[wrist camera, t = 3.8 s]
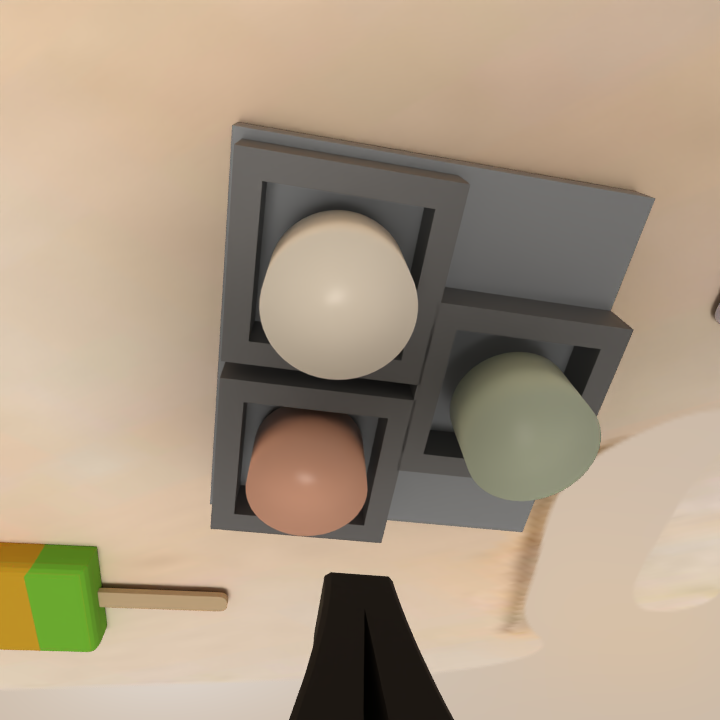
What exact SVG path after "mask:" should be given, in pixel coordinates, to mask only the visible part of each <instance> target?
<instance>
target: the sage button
mask: <svg viewBox="0 0 720 720" xmlns="http://www.w3.org/2000/svg"><path fill="white" fill-rule="evenodd" d="M450 419H451V423H452V426H453V429H454V432H455V435H456V437H457V440H458V443H459V446H460V448H461V451H462V454H463V457H464V460H465V462H466V465H467V468H468V471H469V473H470V475H471V477H472V478H473V480H474V481H475V482H476V484H477V485H478V486H479V487H480V488H482V489H483V490H484V491H486V492H487V493H489V494H491V495H493V496H496V497H498V498H502V499H505V500H511V501H531V500H537V499H542V498H545V497H549V496H551V495H554V494H556V493H558V492H560V491H563V490H564V489H566V488H568V487H569V486H571V485H572V484H573V483H574V482H576V481H577V480H578V479H579V478H581V476H583V475H584V473H585V472H586V471H587V470H588V469H589V467H590V466H591V465H592V463H593V461H594V460H595V458H596V456H597V453H598V450H599V447H600V442H601V430H600V425H599V421H598V419H597V417H596V415H595V413H594V412H593V410H592V409H591V408H590V407H589V405H588V404H587V403H586V401H585V400H584V399H583V398H582V396H581V395H580V394H579V393H578V391H577V390H576V389H575V388H574V386H573V385H572V384H571V383H570V381H569V380H568V379H567V378H566V376H565V375H564V374H563V373H562V371H561V370H560V369H559V368H558V367H557V366H556V365H555V364H554V363H553V362H551V361H550V360H549V359H547V358H545V357H543V356H540V355H537V354H533V353H528V352H509V353H503V354H500V355H496V356H493V357H491V358H488V359H486V360H484V361H483V362H481V363H479V364H478V365H476V366H475V367H473V368H472V369H471V370H470V371H469V372H468V373H467V374H466V375H465V376H464V377H463V378H462V379H461V381H460V382H459V384H458V385H457V387H456V389H455V391H454V393H453V396H452V398H451V403H450Z"/></svg>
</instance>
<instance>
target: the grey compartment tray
mask: <svg viewBox="0 0 720 720" xmlns="http://www.w3.org/2000/svg"><path fill="white" fill-rule="evenodd" d="M654 200H655V198H653V197H650V196H647V195H645V194H642V193H639V192H636V191H631V190H626V189H620V188H614V187H608V186H603V185H597V184H591V183H585V182H580V181H574V180H568V179H562V178H557V177H551V176H545V175H539V174H534V173H528V172H522V171H516V170H511V169H505V168H499V167H493V166H488V165H482V164H476V163H470V162H465V161H459V160H453V159H447V158H442V157H436V156H430V155H425V154H419V153H413V152H407V151H402V150H396V149H390V148H384V147H379V146H373V145H367V144H361V143H356V142H350V141H344V140H338V139H333V138H327V137H321V136H315V135H310V134H304V133H298V132H292V131H287V130H281V129H275V128H269V127H264V126H258V125H252V124H247V123H241V122H238V123H236V124H234V125H232V140H231V157H230V174H229V191H228V208H227V225H226V242H225V259H224V276H223V293H222V310H221V327H220V345H219V362H218V379H217V396H216V413H215V430H214V447H213V464H212V481H211V498H210V504H212V514H211V529H221V530H233V531H245V532H256V533H268V534H280V535H291V534H287V533H284V532H281V531H278V530H276V529H274V528H272V527H270V526H268V525H267V524H265V523H264V522H263V521H261V520H260V519H259V518H258V517H257V516H256V515H255V513H254V512H253V510H252V509H251V507H250V505H249V503H248V500H247V497H246V481H247V476H248V471H249V466H250V461H251V456H252V451H253V446H254V441H255V436H256V433H257V430H258V428H259V426H260V425H261V423H262V422H263V421H264V419H265V418H266V417H267V416H268V415H270V414H271V413H272V412H274V411H275V410H277V409H279V408H280V407H291V408H300V409H309V410H318V411H326V412H335V413H344V414H348V415H349V416H350V417H351V418H352V419H353V420H354V422H355V423H356V424H357V426H358V428H359V430H360V432H361V435H362V439H363V446H364V457H365V467H366V477H367V497H366V500H365V503H364V505H363V507H362V509H361V510H360V512H359V513H358V514H357V516H356V517H355V518H354V519H353V520H351V521H350V522H349V523H348V524H346V525H345V526H343V527H341V528H339V529H337V530H335V531H332V532H330V533H326V534H322V535H316V536H304V537H316V538H328V539H339V540H351V541H363V542H375V543H381V542H382V538H383V534H384V530H385V526H386V522H387V520H393V521H404V522H415V523H426V524H437V525H448V526H459V527H471V528H482V529H493V530H504V531H515V532H522V531H523V529H524V526H525V524H526V521H527V519H528V516H529V514H530V511H531V509H532V506H533V504H534V501H535V500H531V501H511V500H505V499H502V498H498V497H496V496H493V495H491V494H489V493H487V492H486V491H484V490H483V489H482V488H480V487H479V486H478V485H477V484H476V482H475V481H474V480H473V478H472V477H471V475H470V473H469V471H468V468H467V465H466V462H465V460H464V457H463V454H462V451H461V448H460V446H459V443H458V440H457V437H456V435H455V432H454V429H453V426H452V423H451V419H450V403H451V398H452V396H453V393H454V391H455V389H456V387H457V385H458V384H459V382H460V381H461V379H462V378H463V377H464V376H465V375H466V374H467V373H468V372H469V371H470V370H471V369H472V368H473V367H475V366H476V365H478V364H479V363H481V362H483V361H484V360H486V359H488V358H491V357H493V356H496V355H500V354H503V353H509V352H528V353H533V354H537V355H540V356H543V357H545V358H547V359H549V360H550V361H551V362H553V363H554V364H555V365H556V366H557V367H558V368H559V369H560V370H561V371H562V373H563V374H564V375H565V376H566V378H567V379H568V380H569V381H570V383H571V384H572V385H573V386H574V388H575V389H576V390H577V391H578V393H579V394H580V395H581V396H582V398H583V399H584V400H585V401H586V403H587V404H588V405H589V407H590V408H591V409H592V410H593V412H594V413H595V415H596V417H597V415H598V412H599V410H600V407H601V405H602V403H603V400H604V398H605V396H606V393H607V391H608V389H609V386H610V384H611V382H612V379H613V377H614V375H615V372H616V370H617V368H618V365H619V363H620V361H621V358H622V356H623V354H624V351H625V349H626V346H627V344H628V342H629V339H630V337H631V335H632V332H633V329H632V328H631V327H629V326H628V325H627V324H626V323H625V322H623V321H622V320H621V319H620V318H619V317H617V316H616V315H615V314H614V313H613V312H611V308H612V306H613V303H614V301H615V298H616V296H617V293H618V291H619V288H620V286H621V283H622V281H623V278H624V276H625V273H626V271H627V268H628V266H629V263H630V261H631V258H632V256H633V253H634V251H635V248H636V245H637V243H638V240H639V238H640V235H641V233H642V230H643V228H644V225H645V223H646V220H647V218H648V215H649V213H650V210H651V208H652V205H653V203H654ZM328 210H346V211H352V212H356V213H359V214H362V215H365V216H367V217H369V218H371V219H373V220H375V221H376V222H377V223H379V224H380V225H382V226H383V227H384V228H385V229H386V230H387V231H388V232H389V233H390V234H391V236H392V237H393V238H394V239H395V241H396V243H397V244H398V246H399V248H400V250H401V253H402V255H403V257H404V260H405V262H406V264H407V267H408V269H409V271H410V274H411V276H412V279H413V281H414V283H415V287H416V291H417V297H418V314H417V320H416V324H415V327H414V330H413V333H412V335H411V337H410V339H409V341H408V342H407V344H406V345H405V347H404V348H403V349H402V351H401V352H400V353H399V354H398V355H397V356H396V357H395V358H394V359H393V360H392V361H391V362H389V363H388V364H387V365H385V366H384V367H382V368H380V369H379V370H377V371H375V372H373V373H370V374H368V375H365V376H361V377H358V378H353V379H344V380H333V379H324V378H319V377H315V376H312V375H309V374H307V373H304V372H302V371H300V370H298V369H296V368H295V367H293V366H292V365H290V364H289V363H288V362H286V361H285V360H284V359H283V358H282V357H281V356H280V355H279V354H278V353H277V352H276V351H275V349H274V348H273V347H272V345H271V344H270V342H269V340H268V339H267V337H266V334H265V332H264V330H263V327H262V323H261V319H260V311H259V302H260V294H261V289H262V286H263V282H264V279H265V276H266V273H267V269H268V266H269V263H270V260H271V257H272V253H273V251H274V249H275V247H276V245H277V243H278V242H279V240H280V239H281V237H282V236H283V235H284V234H285V232H286V231H287V230H288V229H289V228H291V227H292V226H293V225H294V224H295V223H297V222H298V221H300V220H301V219H303V218H305V217H307V216H310V215H312V214H315V213H318V212H323V211H328ZM292 536H298V535H292Z"/></svg>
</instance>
